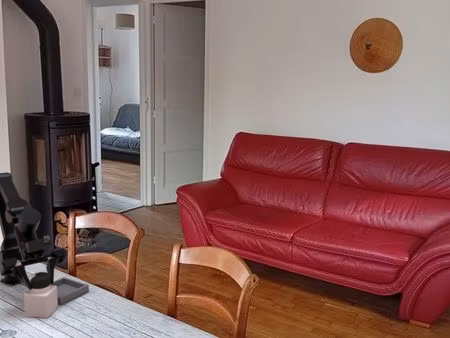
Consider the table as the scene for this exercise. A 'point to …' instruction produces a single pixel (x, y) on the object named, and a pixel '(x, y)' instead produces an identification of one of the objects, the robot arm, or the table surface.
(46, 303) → the medicine bottle
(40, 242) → the robot arm
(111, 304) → the table surface
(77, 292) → the charcoal tray
